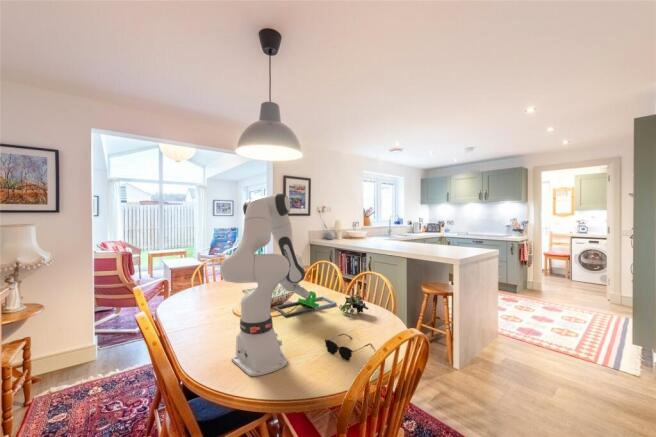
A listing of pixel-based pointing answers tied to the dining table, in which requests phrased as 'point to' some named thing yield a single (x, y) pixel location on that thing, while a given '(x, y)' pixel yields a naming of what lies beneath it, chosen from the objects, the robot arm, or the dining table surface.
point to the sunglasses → (341, 348)
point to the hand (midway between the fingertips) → (305, 297)
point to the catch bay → (325, 304)
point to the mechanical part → (309, 300)
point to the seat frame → (292, 312)
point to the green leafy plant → (353, 304)
